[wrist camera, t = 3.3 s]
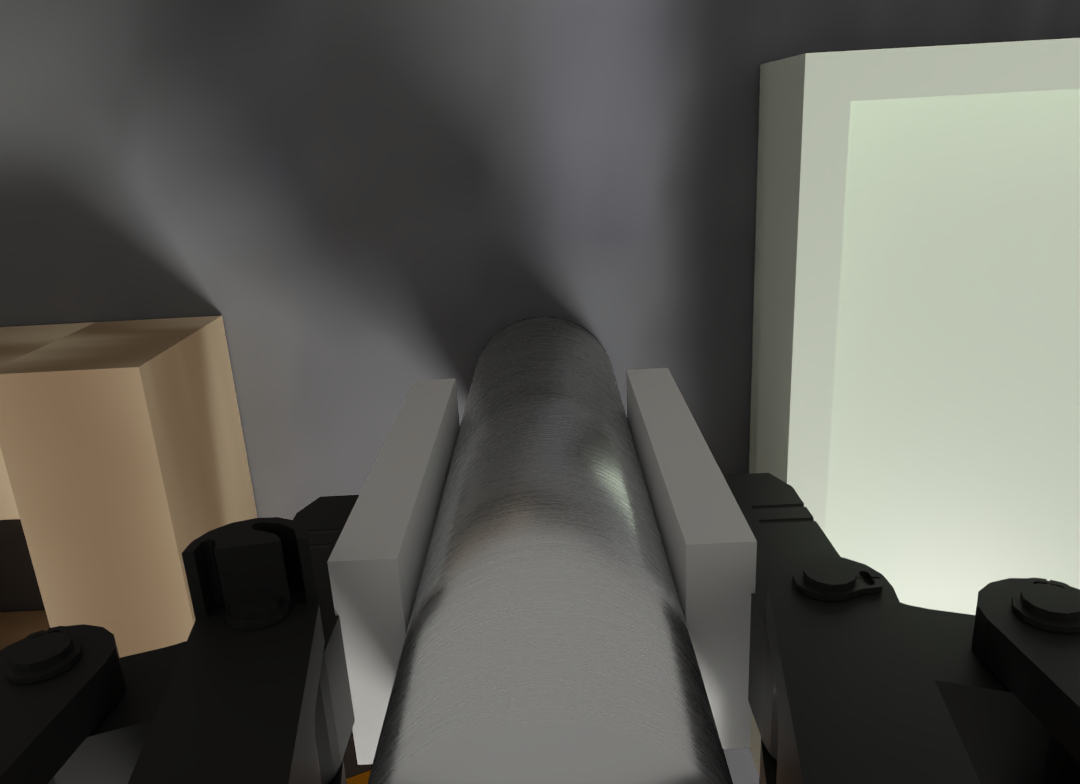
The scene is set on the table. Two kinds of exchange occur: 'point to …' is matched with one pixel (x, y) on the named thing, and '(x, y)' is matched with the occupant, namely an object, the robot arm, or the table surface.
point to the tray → (923, 310)
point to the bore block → (118, 469)
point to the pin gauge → (547, 595)
